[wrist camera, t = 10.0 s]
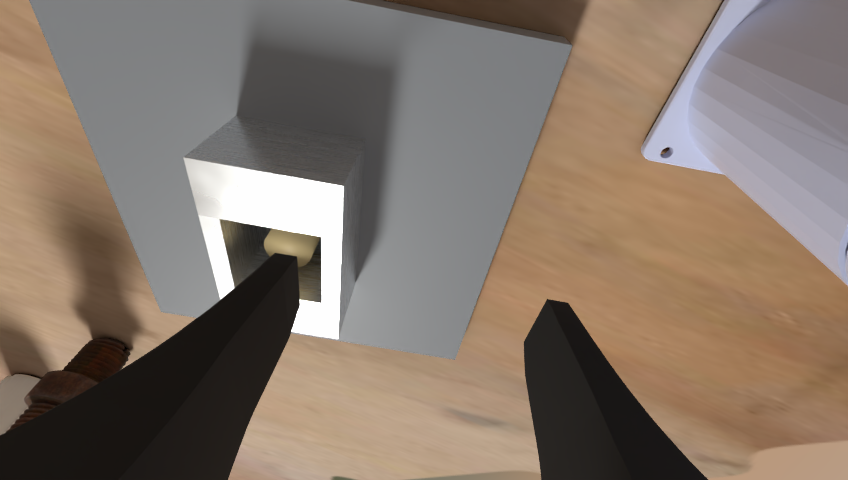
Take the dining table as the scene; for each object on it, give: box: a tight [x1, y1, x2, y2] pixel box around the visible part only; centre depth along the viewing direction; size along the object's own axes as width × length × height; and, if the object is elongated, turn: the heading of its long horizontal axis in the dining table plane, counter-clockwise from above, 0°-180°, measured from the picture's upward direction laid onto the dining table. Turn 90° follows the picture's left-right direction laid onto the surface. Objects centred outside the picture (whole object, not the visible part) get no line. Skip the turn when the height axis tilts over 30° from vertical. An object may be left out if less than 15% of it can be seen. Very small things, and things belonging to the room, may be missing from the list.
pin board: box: [29, 0, 572, 360], centre depth 19 cm, size 20×20×4 cm
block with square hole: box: [183, 115, 366, 339], centre depth 18 cm, size 6×9×4 cm, turn 171°
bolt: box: [6, 338, 130, 432], centre depth 25 cm, size 6×5×15 cm
